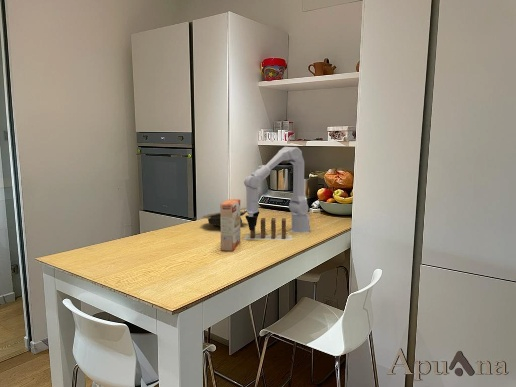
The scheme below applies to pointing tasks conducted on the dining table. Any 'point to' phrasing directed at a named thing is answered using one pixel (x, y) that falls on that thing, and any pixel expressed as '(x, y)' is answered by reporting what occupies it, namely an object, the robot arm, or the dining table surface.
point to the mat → (268, 237)
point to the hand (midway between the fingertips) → (252, 228)
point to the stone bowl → (218, 218)
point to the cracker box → (230, 224)
